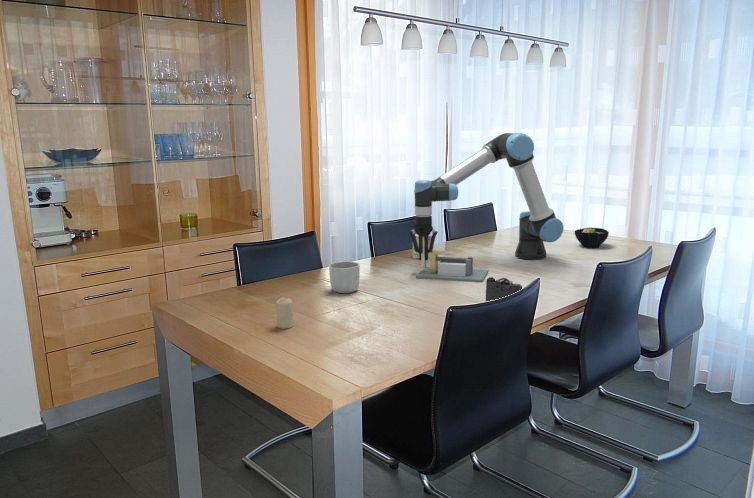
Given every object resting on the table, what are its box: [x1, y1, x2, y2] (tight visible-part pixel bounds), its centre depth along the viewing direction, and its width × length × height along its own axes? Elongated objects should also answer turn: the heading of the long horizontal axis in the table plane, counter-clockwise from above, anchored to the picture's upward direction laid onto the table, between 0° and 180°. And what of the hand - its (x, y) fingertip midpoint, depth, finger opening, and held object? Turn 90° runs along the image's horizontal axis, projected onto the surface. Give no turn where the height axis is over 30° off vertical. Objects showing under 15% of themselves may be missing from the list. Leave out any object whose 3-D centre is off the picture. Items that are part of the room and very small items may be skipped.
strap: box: [436, 256, 472, 263], centre depth 259 cm, size 15×3×1 cm, turn 72°
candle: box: [275, 296, 295, 329], centre depth 197 cm, size 6×6×10 cm
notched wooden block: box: [429, 249, 445, 273], centre depth 261 cm, size 5×5×9 cm
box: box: [412, 233, 434, 260], centre depth 296 cm, size 10×6×12 cm, turn 84°
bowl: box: [574, 227, 610, 249], centre depth 312 cm, size 17×17×10 cm
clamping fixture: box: [415, 256, 489, 283], centre depth 260 cm, size 29×18×8 cm, turn 72°
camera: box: [485, 276, 523, 302], centre depth 217 cm, size 14×11×10 cm
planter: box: [328, 261, 360, 294], centre depth 239 cm, size 12×12×11 cm
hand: (423, 267), depth 264 cm, fingers closed
